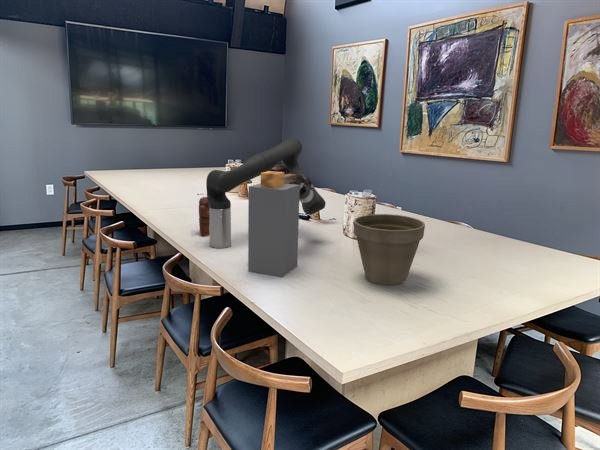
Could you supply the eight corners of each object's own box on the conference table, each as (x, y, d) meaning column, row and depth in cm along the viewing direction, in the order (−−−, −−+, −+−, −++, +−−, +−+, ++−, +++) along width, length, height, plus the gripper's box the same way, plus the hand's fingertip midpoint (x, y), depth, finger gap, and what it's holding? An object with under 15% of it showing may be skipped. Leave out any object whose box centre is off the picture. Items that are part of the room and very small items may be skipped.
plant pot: (366, 293, 155) (370, 230, 150) (341, 269, 179) (343, 214, 174) (432, 288, 162) (439, 227, 157) (399, 266, 185) (404, 212, 180)
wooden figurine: (214, 236, 221) (213, 199, 217) (200, 237, 219) (199, 199, 215) (211, 230, 232) (211, 194, 228) (198, 231, 230) (197, 195, 226)
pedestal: (248, 271, 173) (248, 186, 166) (265, 261, 186) (266, 181, 179) (282, 277, 168) (284, 189, 161) (297, 266, 181) (299, 184, 174)
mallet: (260, 186, 166) (260, 172, 165) (285, 179, 186) (286, 167, 185) (275, 188, 164) (275, 174, 163) (299, 181, 184) (300, 168, 182)
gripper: (288, 181, 199) (274, 165, 185) (320, 184, 194) (308, 168, 179) (284, 198, 197) (270, 182, 183) (316, 201, 192) (304, 186, 177)
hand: (289, 175), depth 181 cm, fingers open, 7 cm apart
